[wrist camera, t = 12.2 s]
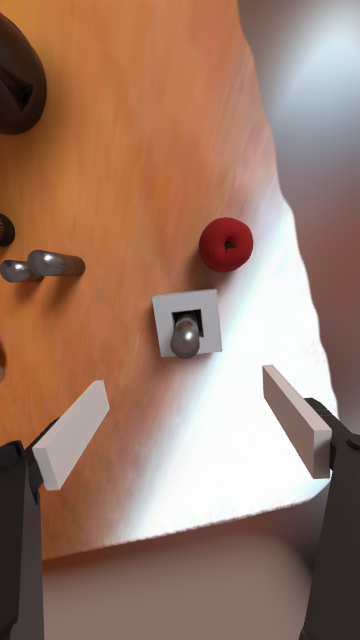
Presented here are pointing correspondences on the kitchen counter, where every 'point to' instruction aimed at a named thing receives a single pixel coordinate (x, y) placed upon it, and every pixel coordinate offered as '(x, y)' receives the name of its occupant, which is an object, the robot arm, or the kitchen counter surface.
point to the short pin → (18, 272)
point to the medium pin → (55, 264)
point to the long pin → (185, 336)
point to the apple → (225, 244)
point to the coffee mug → (6, 231)
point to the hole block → (183, 302)
